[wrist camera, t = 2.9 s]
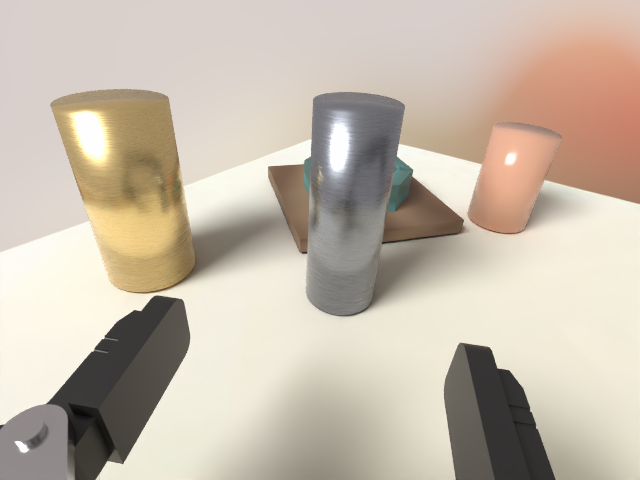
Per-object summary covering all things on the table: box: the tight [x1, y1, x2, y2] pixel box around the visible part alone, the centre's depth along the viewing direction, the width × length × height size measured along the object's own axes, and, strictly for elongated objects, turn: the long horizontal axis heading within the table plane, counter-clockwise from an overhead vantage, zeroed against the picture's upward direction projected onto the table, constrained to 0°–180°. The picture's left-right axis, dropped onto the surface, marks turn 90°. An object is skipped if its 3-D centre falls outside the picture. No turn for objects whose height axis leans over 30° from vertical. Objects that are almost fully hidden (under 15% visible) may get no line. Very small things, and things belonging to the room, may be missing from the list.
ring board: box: [268, 156, 464, 253], centre depth 34 cm, size 14×14×4 cm
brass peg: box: [51, 89, 195, 292], centre depth 23 cm, size 6×6×11 cm
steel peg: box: [306, 92, 405, 315], centre depth 21 cm, size 4×4×12 cm
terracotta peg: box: [467, 123, 562, 233], centre depth 32 cm, size 5×5×8 cm
